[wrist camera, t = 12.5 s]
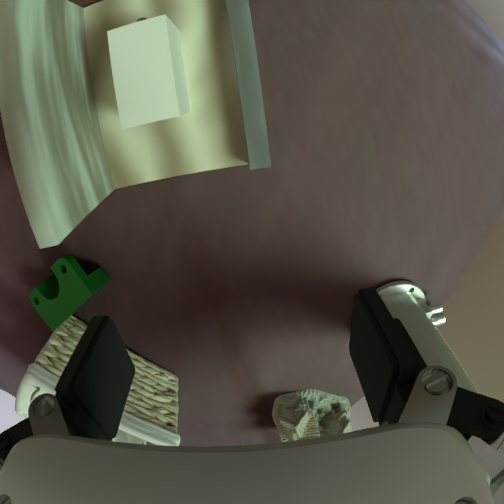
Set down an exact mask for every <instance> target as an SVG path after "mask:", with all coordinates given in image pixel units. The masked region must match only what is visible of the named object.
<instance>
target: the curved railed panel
mask: <svg viewBox="0 0 504 504" xmlns="http://www.w3.org/2000/svg"><path fill="white" fill-rule="evenodd" d="M165 14H166V15H167V17H168V18H169V19H170V20H171V21H172V23H173V24H174V25H175V26H176V27H177V29H178V30H179V31H180V39H181V46H182V53H183V60H184V67H185V74H186V81H187V88H188V94H189V101H190V107H191V112H190V113H187V114H185V115H182V116H179V117H174V118H169V119H165V120H160V121H156V122H151V123H147V124H143V125H139V126H135V127H131V128H127V129H123V130H122V128H121V122H120V117H119V111H118V106H117V100H116V94H115V88H114V81H113V75H112V68H111V60H110V52H109V44H108V35H107V31H110V30H113V29H116V28H119V27H122V26H125V25H128V24H131V23H135V22H136V21H137V20H138V19H139V18H143V17H144V18H147V19H149V18H153V17H157V16H161V15H165ZM0 111H1V117H2V123H3V128H4V133H5V138H6V142H7V147H8V151H9V155H10V160H11V163H12V167H13V171H14V175H15V178H16V182H17V185H18V189H19V192H20V195H21V198H22V201H23V205H24V208H25V211H26V213H27V216H28V219H29V222H30V225H31V227H32V230H33V233H34V235H35V238H36V241H37V243H38V246H39V248H40V249H42V248H46V247H51V246H56V245H59V244H60V243H61V242H62V240H63V239H64V238H65V237H66V236H67V235H68V234H69V233H70V232H71V231H72V230H73V229H74V228H75V227H76V226H77V225H78V224H79V223H80V222H81V221H82V220H83V219H84V218H85V217H86V216H87V215H88V214H89V213H90V212H91V211H92V210H93V209H94V208H95V207H96V206H97V205H98V204H99V203H100V202H101V201H103V200H104V199H105V198H106V197H107V196H108V195H109V194H110V193H111V192H112V191H113V190H114V189H117V188H122V187H126V186H131V185H135V184H140V183H144V182H149V181H154V180H159V179H164V178H169V177H174V176H179V175H185V174H190V173H196V172H202V171H208V170H214V169H220V168H226V167H233V166H240V165H246V164H249V166H250V170H251V169H259V168H266V167H271V162H270V154H269V145H268V137H267V129H266V121H265V113H264V106H263V98H262V91H261V83H260V76H259V69H258V62H257V55H256V48H255V41H254V34H253V28H252V21H251V15H250V8H249V2H248V0H103V1H100V2H98V3H95V4H92V5H90V6H88V7H85V8H82V7H80V6H78V5H76V4H74V3H72V2H70V1H67V0H0Z"/></svg>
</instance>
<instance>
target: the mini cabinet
mask: <svg viewBox="0 0 504 504" xmlns="http://www.w3.org/2000/svg"><path fill="white" fill-rule="evenodd" d="M107 35H108V44H109V52H110V60H111V68H112V75H113V81H114V88H115V94H116V100H117V106H118V111H119V117H120V122H121V128H122V130H123V129H127V128H131V127H135V126H139V125H143V124H147V123H151V122H156V121H160V120H165V119H169V118H174V117H179V116H182V115H185V114H187V113H190V112H191V107H190V101H189V94H188V88H187V81H186V74H185V67H184V60H183V53H182V46H181V39H180V31H179V30H178V29H177V27H176V26H175V25H174V24H173V23H172V21H171V20H170V19H169V18H168V17H167V15H166V14H165V15H161V16H157V17H153V18H149V19H147V18H144V17H143V18H139V19H138V20H137V21H136V22H135V23H131V24H128V25H125V26H122V27H119V28H116V29H113V30H110V31H107Z"/></svg>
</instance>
